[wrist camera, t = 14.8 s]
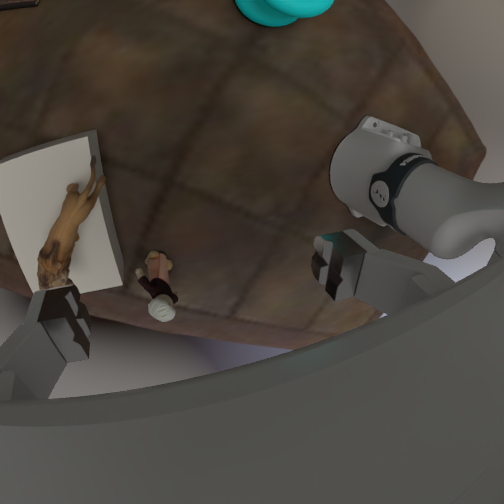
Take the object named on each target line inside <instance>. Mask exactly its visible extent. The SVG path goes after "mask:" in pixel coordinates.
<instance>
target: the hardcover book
mask: <svg viewBox="0 0 504 504" xmlns="http://www.w3.org/2000/svg"><path fill="white" fill-rule="evenodd" d="M38 1H39V0H0V11H1V10H8V9H15V8H24V7H35V6H38V5H37V3H38Z"/></svg>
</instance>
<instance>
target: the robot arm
mask: <svg viewBox="0 0 504 504" xmlns="http://www.w3.org/2000/svg"><path fill="white" fill-rule="evenodd" d="M373 124H374V126H373ZM330 181H331V186H332V189H333V191H334V193H335V195H336V196H337V197H338V199H339V200H341V201H342V202H343V203H345V204H346V205H347V206H348V207H349V210H350V212H351V214H352V215H353V216H355V217H357V218H359V217H362V216H365V217H366V218H368V219H370V220H372V221H373V222H375V223H377V224H379V225H380V226H385V225H389V226H390V227H391V228H392V229H393V230H395V231H398V232H399V233H401V234H403V235H408V236H409V237H411V238H412V239H413V240H415V241H416V242H417V243H419V244H420V245H421V246H423V247H424V248H425V249H427V250H428V251H429V252H431V253H432V254H433V255H434V256H436V257H438V258H442V259H454V258H457V257H459V256H462V255H463V254H465V253H467V252H468V251H469V250H471V249H472V248H473V247H474V246H475V245H477V244H478V243H479V242H481V241H483V240H484V239H488V238H493V239H494V240H495V242H496V245H495V248H494V249H495V250H494V252H493V254H492V256H491V258H490V260H489V262H488V264H487V266H485V267H483V268H482V269H480V270H478V271H476V272H475V273H473V274H471V275H469V276H467V277H466V278H464V279H462V280H460V281H458V282H456V283H455V282H454V281H453V280H452V279H451V278H449V277H448V276H447V275H446V274H445V273H443V272H442V271H441V270H440V269H439V268H437V267H436V266H433V265H430V264H427V263H424V262H421V261H418V260H415V259H412V258H409V257H406V256H403V255H400V254H397V253H394V252H391V251H388V250H385V249H378V248H377V247H376V246H374V245H373V244H372V243H371V242H370V241H368V240H367V239H366V238H365V237H363V236H362V235H361V234H360V233H358V232H357V231H356V230H354V229H347V230H343V231H340V232H335V233H331V234H326V235H321V236H317V237H316V238H315V240H314V245H313V248H314V249H315V250H316V253H315V254H314V256H313V257H312V263H311V267H312V272H313V275H314V277H315V279H316V280H317V281H318V282H319V283H321V284H324V285H325V291H326V292H327V293H328V294H329V296H330V297H331V298H332V299H333V300H334V301H339V300H342V299H346V298H349V297H352V296H354V297H355V298H357V299H359V300H361V301H363V302H365V303H367V304H369V305H370V306H372V307H374V308H376V309H378V310H380V311H382V312H384V313H386V314H387V316H384V317H382V318H379V319H377V320H375V321H372V322H370V323H367V324H365V325H362V326H360V327H357V328H355V329H352V330H350V331H347V332H344V333H342V334H339V335H336V336H334V337H331V338H328V339H325V340H323V341H320V342H317V343H314V344H311V345H308V346H305V347H302V348H299V349H296V350H293V351H290V352H287V353H284V354H280V355H278V356H274V357H271V358H267V359H264V360H261V361H257V362H254V363H250V364H246V365H243V366H239V367H235V368H232V369H228V370H224V371H220V372H216V373H212V374H208V375H204V376H199V377H195V378H190V379H186V380H181V381H177V382H172V383H166V384H161V385H157V386H151V387H146V388H139V389H133V390H127V391H120V392H113V393H106V394H98V395H90V396H80V397H70V398H58V399H48V397H49V395H50V394H51V392H52V390H53V388H54V386H55V384H56V383H57V381H58V379H59V377H60V375H61V373H62V372H63V370H64V368H65V367H66V365H67V364H66V363H68V362H75V361H81V360H86V359H89V350H90V349H89V348H90V342H89V341H88V339H87V337H88V335H89V334H90V333H91V322H90V316H89V313H88V310H87V308H86V306H85V304H83V303H82V302H80V295H81V294H80V292H79V290H78V288H77V286H76V285H74V284H71V285H66V286H60V287H54V288H49V289H43V290H39V291H36V292H34V294H33V297H32V300H31V303H30V305H29V308H28V312H27V315H26V318H25V321H24V324H23V325H20V326H19V327H18V328H17V329H16V330H15V331H14V332H13V333H12V334H11V336H10V337H9V338H8V339H7V340H6V341H5V342H4V343H3V344H2V346H1V347H0V504H504V182H502V183H481V182H476V181H473V180H470V179H467V178H464V177H462V176H459V175H457V174H454V173H452V172H450V171H448V170H445V169H443V168H441V167H439V166H438V164H437V163H435V162H434V161H433V160H432V157H431V154H430V152H429V151H428V150H426V149H423V148H421V143H420V138H419V136H418V135H416V134H414V133H412V132H410V131H407V130H405V129H402V128H400V127H398V126H395V125H393V124H390V123H388V122H385V121H382V120H380V119H377V118H374V117H371V116H365V117H364V118H363V119H362V121H361V122H360V124H359V125H358V127H357V128H356V129H355V130H354V131H353V132H352V133H350V134H349V135H348V136H346V137H345V138H344V139H343V141H342V142H341V143H340V144H339V146H338V147H337V149H336V151H335V153H334V156H333V159H332V162H331V167H330Z"/></svg>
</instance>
